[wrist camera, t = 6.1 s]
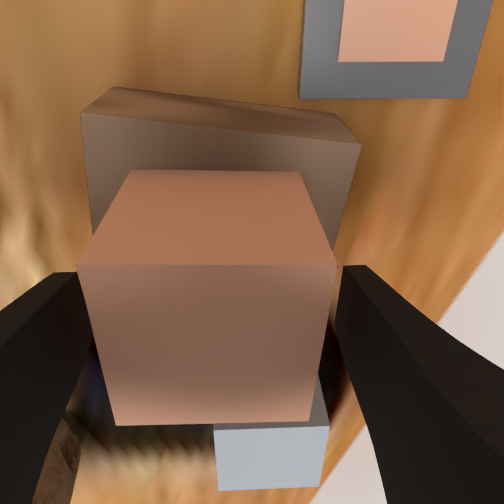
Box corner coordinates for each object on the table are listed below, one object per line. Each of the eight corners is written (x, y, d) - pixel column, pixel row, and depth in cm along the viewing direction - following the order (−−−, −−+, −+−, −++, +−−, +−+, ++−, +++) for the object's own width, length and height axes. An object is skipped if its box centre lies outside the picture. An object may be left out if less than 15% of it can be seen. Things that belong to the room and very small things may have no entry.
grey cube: (220, 403, 24) (218, 490, 19) (217, 344, 21) (213, 430, 17) (303, 400, 24) (318, 486, 20) (310, 341, 21) (330, 426, 17)
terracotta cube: (149, 300, 14) (115, 425, 10) (131, 169, 12) (75, 264, 7) (285, 299, 15) (308, 421, 10) (299, 171, 12) (337, 264, 8)
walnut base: (126, 267, 18) (102, 328, 15) (115, 85, 14) (79, 112, 11) (294, 280, 19) (307, 340, 16) (332, 111, 15) (362, 144, 12)
